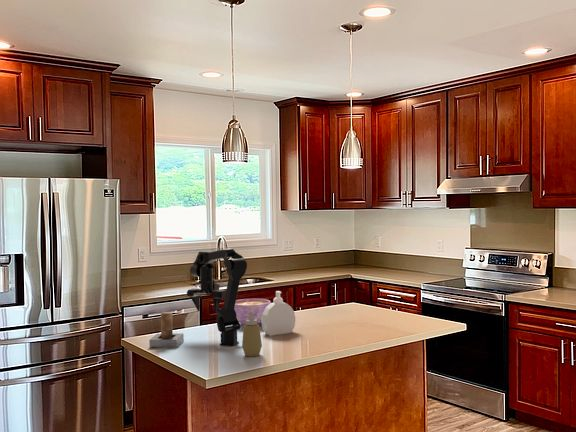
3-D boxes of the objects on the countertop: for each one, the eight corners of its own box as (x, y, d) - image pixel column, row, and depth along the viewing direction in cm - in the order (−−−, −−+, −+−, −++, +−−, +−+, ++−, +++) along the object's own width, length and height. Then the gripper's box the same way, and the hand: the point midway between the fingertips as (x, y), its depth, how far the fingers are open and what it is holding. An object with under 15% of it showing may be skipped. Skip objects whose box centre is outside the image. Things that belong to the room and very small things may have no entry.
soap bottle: (266, 336, 271) (265, 293, 271) (261, 334, 276) (260, 292, 275) (296, 332, 279) (295, 290, 278) (290, 330, 284) (290, 289, 283)
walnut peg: (172, 342, 263) (172, 311, 263) (172, 345, 258) (172, 313, 258) (161, 343, 262) (160, 312, 262) (161, 346, 257) (160, 314, 257)
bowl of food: (263, 319, 312) (263, 297, 312) (276, 326, 293) (276, 303, 293) (227, 322, 305) (226, 300, 304) (238, 330, 286) (237, 306, 286)
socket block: (183, 341, 266) (183, 333, 266) (176, 347, 254) (176, 339, 254) (157, 341, 267) (157, 333, 267) (149, 347, 255) (149, 339, 255)
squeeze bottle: (262, 352, 243) (261, 309, 243) (261, 357, 235) (261, 312, 235) (242, 352, 243) (241, 309, 243) (241, 358, 235) (240, 313, 235)
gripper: (232, 276, 275) (233, 309, 276) (198, 275, 283) (199, 307, 283) (220, 279, 265) (221, 314, 265) (185, 278, 272) (186, 311, 273)
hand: (207, 311), depth 272 cm, fingers open, 9 cm apart
